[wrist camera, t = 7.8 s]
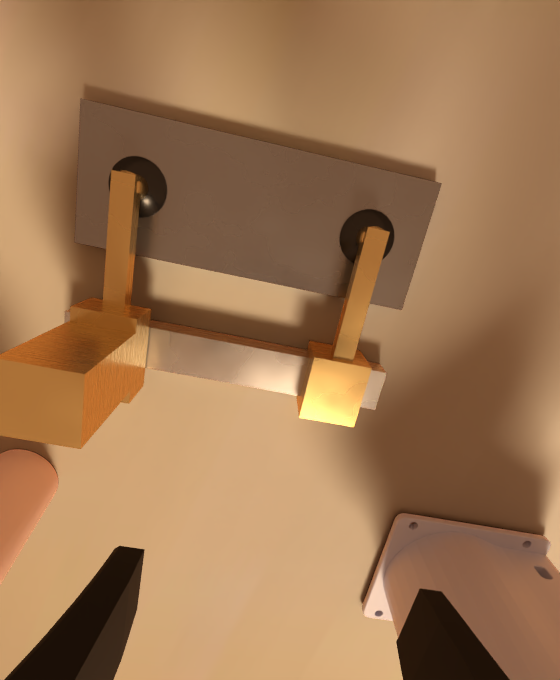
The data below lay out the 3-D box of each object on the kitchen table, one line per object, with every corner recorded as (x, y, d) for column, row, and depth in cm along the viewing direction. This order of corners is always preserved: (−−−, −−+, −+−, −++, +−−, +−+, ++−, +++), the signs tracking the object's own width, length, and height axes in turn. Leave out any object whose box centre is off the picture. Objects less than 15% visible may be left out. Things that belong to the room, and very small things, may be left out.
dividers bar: (419, 237, 17) (441, 240, 15) (366, 407, 20) (378, 431, 17) (85, 163, 16) (53, 153, 14) (76, 353, 18) (48, 372, 16)
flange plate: (435, 184, 16) (442, 183, 16) (397, 307, 18) (402, 310, 17) (87, 103, 15) (79, 97, 14) (81, 241, 17) (73, 242, 16)
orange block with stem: (168, 181, 15) (96, 153, 9) (146, 381, 18) (79, 465, 12) (105, 167, 15) (-13, 129, 9) (92, 371, 18) (-5, 451, 12)
